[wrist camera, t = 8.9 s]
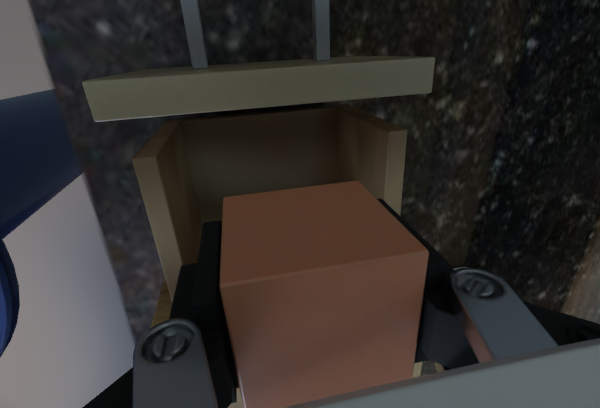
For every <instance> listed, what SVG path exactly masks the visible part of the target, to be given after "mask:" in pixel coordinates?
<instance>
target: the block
mask: <svg viewBox="0 0 600 408" xmlns="http://www.w3.org/2000/svg"><path fill="white" fill-rule="evenodd" d="M428 257H429V252H428V250H427V249H426V248H425V247H424V246H423V245H422V244H421V243H420V242H419V241H418V240H417V239H416V238H415V237H414V236H413V235H412V234H411V233H410V232H409V231H408V230H407V229H406V228H405V227H404V226H403V225H402V224H401V223H400V222H399V221H398V220H397V219H396V218H395V217H394V216H393V215H392V214H391V213H390V212H389V211H388V210H387V209H386V208H385V207H384V206H383V205H382V204H381V203H380V202H379V201H378V200H377V199H376V198H375V197H374V196H373V195H372V194H371V193H370V192H369V191H368V190H367V189H366V188H365V187H364V186H363V185H362V184H361V183H360V182H359V181H350V182H342V183H334V184H326V185H318V186H310V187H302V188H294V189H286V190H278V191H270V192H262V193H254V194H246V195H238V196H230V197H224V198H223V215H222V239H221V262H220V286H219V287H220V292H221V297H222V302H223V307H224V312H225V317H226V322H227V327H228V332H229V337H230V342H231V347H232V352H233V357H234V362H235V367H236V372H237V377H238V382H239V387H240V392H241V397H242V402H243V407H244V408H283V407H287V406H292V405H296V404H300V403H305V402H309V401H313V400H318V399H322V398H326V397H331V396H335V395H339V394H344V393H348V392H353V391H357V390H362V389H366V388H370V387H375V386H379V385H384V384H388V383H392V382H397V381H401V380H406V379H410V378H412V377H413V370H414V362H415V355H416V347H417V340H418V332H419V325H420V317H421V310H422V302H423V294H424V287H425V279H426V272H427V264H428Z"/></svg>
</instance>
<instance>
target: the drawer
mask: <svg viewBox="0 0 600 408" xmlns="http://www.w3.org/2000/svg"><path fill="white" fill-rule="evenodd" d="M180 1H181V7H182V12H183V18H184V24H185V29H186V35H187V40H188V46H189V52H190V57H191V63H192V66H191V67H175V68H160V69H145V70H139V71H133V72H128V73H123V74H118V75H113V76H107V77H102V78H97V79H92V80H87V81H83V82H82V84H83V87H84V90H85V93H86V96H87V100H88V103H89V106H90V109H91V112H92V115H93V119H94V121H95V122H102V121H114V120H125V119H137V118H148V117H160V116H171V115H183V114H194V113H206V112H217V111H229V110H240V109H252V108H263V107H275V106H286V105H298V104H309V103H321V102H332V101H344V100H355V99H367V98H378V97H390V96H401V95H413V94H424V93H431V92H432V84H433V75H434V65H435V57H407V56H343V57H330V18H329V0H312V28H313V57H314V58H313V59H297V60H282V61H267V62H252V63H236V64H221V65H208V59H207V53H206V47H205V41H204V34H203V28H202V22H201V15H200V9H199V3H198V0H180ZM406 142H407V130H406V129H403V128H401V127H399V126H396V125H394V124H392V123H389V122H387V121H385V120H382V119H380V118H378V117H375V116H373V115H370V114H368V113H366V112H363V111H361V110H359V109H356V108H354V107H352V106H350V105H347V104H340V105H329V106H317V107H306V108H295V109H284V110H272V111H261V112H250V113H239V114H227V115H216V116H205V117H194V118H182V119H171V120H167V121H166V122H165V123H164V124H163V125H162V126H161V127H160V129H159V130H158V131H157V132H156V133H155V134H154V135H153V136H152V137H151V138H150V140H149V141H148V142H147V143H146V144H145V145H144V146H143V147H142V148H141V149H140V151H139V152H138V153H137V154H136V155H135V156H134V157H133V158H132V162H133V165H134V169H135V172H136V176H137V179H138V183H139V187H140V190H141V194H142V197H143V201H144V204H145V208H146V211H147V215H148V218H149V222H150V225H151V229H152V233H153V236H154V240H155V243H156V247H157V250H158V254H159V257H160V261H161V264H162V268H163V272H164V275H165V279H166V282H167V286H168V289H169V293H170V296H171V300H172V303H173V298H174V294H175V289H176V285H177V281H178V276H179V272H180V268H181V266H182V265H186V264H192V263H197V261H198V254H199V248H200V241H201V234H202V228H203V223H204V222H212V221H219V220H221V223H222V215H223V198H224V197H230V196H238V195H246V194H254V193H262V192H270V191H278V190H286V189H294V188H302V187H310V186H318V185H326V184H334V183H342V182H350V181H359V182H360V183H361V184H362V185H363V186H364V187H365V188H366V189H367V190H368V191H369V192H370V193H371V194H372V195H373V196H374V197H375V198H376V199H383V200H384V201H385V202H386V203H387V204H388V205H389V206H390V207H391V208H392V209H393V210H394V211H395V212H396V213H397V214H398V215H399V216H400V213H401V201H402V189H403V177H404V165H405V153H406Z"/></svg>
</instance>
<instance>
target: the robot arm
mask: <svg viewBox="0 0 600 408" xmlns="http://www.w3.org/2000/svg"><path fill="white" fill-rule="evenodd" d="M377 200H378V201H379V202H380V203H381V204H382V205H383V206H384V207H385V208H386V209H387V210H388V211H389V212H390V213H391V214H392V215H393V216H394V217H395V218H396V219H397V220H398V221H399V222H400V223H401V224H402V225H403V226H404V227H405V228H406V229H407V230H408V231H409V232H410V233H411V234H412V235H413V236H414V237H415V238H416V239H417V240H418V241H419V242H420V243H421V244H422V245H423V246H424V247H425V248H426V249H427V250H428V252H429V257H428V264H427V272H426V279H425V287H424V294H423V302H422V310H421V317H420V325H419V332H418V340H417V347H416V355H415V362H414V363H419V362H424V361H428V360H431V361H434V362H435V367H436V371H437V373H433V374H428V375H424V376H419V377H415V378H410V379H406V380H401V381H397V382H392V383H388V384H384V385H379V386H375V387H370V388H366V389H362V390H357V391H353V392H348V393H344V394H339V395H335V396H331V397H326V398H322V399H318V400H313V401H309V402H305V403H300V404H296V405H292V406H287V407H283V408H600V325H599V324H597V323H594V322H590V321H587V320H584V319H580V318H577V317H574V316H570V315H567V314H564V313H560V312H557V311H554V310H550V309H547V308H543V307H540V306H537V305H533V304H530V303H527V302H523V301H521V299H520V298H519V297H518V296H517V295H516V293H515V292H514V291H513V290H512V288H511V287H510V286H509V285H508V284H507V283H506V282H505V281H504V280H503V279H502V278H501V277H499V276H497V275H496V274H494V273H491V272H489V271H486V270H483V269H478V268H468V267H467V268H459V269H457V270H454V269H453V268H452V267H451V266H450V265H449V264H448V262H447V261H446V260H445V259H444V258H443V257H442V256H441V255H440V254H439V253H438V252H437V251H436V250H435V249H434V248H433V247H432V246H431V245H430V244H429V243H428V242H427V241H426V240H425V239H423V238H422V237H421V236H420V235H419V234H418V233H417V232H416V231H415V230H414V229H413V228H412V227H411V226H410V225H409V224H408V223H407V222H406V221H405V220H404V219H403V218H402V217H400V216H399V215H398V214H397V213H396V212H395V211H394V210H393V209H392V208H391V207H390V206H389V205H388V204H387V203H386V202H385V201H384V200H383V199H377ZM221 239H222V223H221V220H219V221H212V222H204V223H203V228H202V234H201V241H200V248H199V254H198V261H197V263H192V264H186V265H182V266H181V268H180V272H179V276H178V281H177V285H176V289H175V294H174V298H173V303H172V307H171V311H170V316H169V320H166V321H163V322H161V323H159V324H156V325H155V326H153V327H152V328H150V329H149V330H147V331H146V332H145V333H144V334H143V335H142V336H141V337H140V339H139V340H138V342H137V344H136V345H135V349H134V353H133V368H131V369H130V370H129V371H128V372H127V373H125V374H124V375H123V376H121V377H120V378H119V379H118V380H116V381H115V382H114V383H113V384H111V385H110V386H109V387H108V388H107V389H105V390H104V391H103V392H101V393H100V394H99V395H98V396H96V397H95V398H94V399H93V400H91V401H90V402H89V403H88V404H86V405H85V406H84V407H83V408H228V407H229V406H230V405H231V403H236V402H237V388H240V387H239V382H238V377H237V372H236V367H235V362H234V357H233V352H232V347H231V342H230V337H229V332H228V327H227V322H226V317H225V312H224V307H223V302H222V297H221V292H220V287H219V286H220V262H221Z"/></svg>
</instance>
